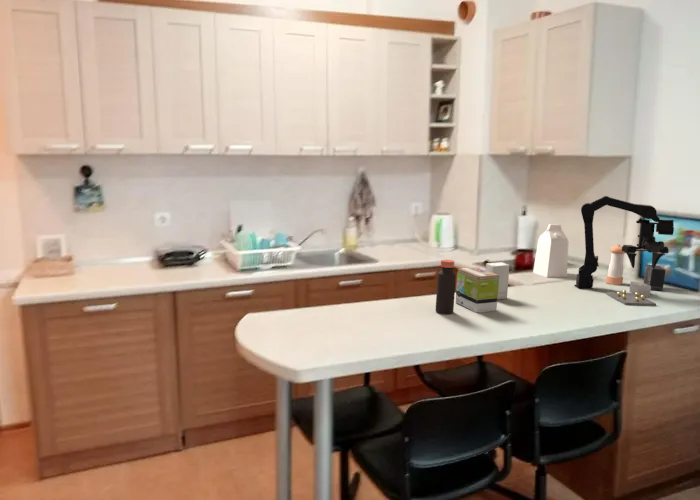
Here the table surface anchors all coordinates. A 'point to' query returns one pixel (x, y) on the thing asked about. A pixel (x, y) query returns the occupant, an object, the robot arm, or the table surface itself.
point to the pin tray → (631, 298)
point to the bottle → (445, 288)
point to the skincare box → (500, 277)
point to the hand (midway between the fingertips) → (643, 267)
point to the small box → (654, 277)
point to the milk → (552, 253)
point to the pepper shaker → (615, 266)
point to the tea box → (477, 289)
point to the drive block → (640, 288)
